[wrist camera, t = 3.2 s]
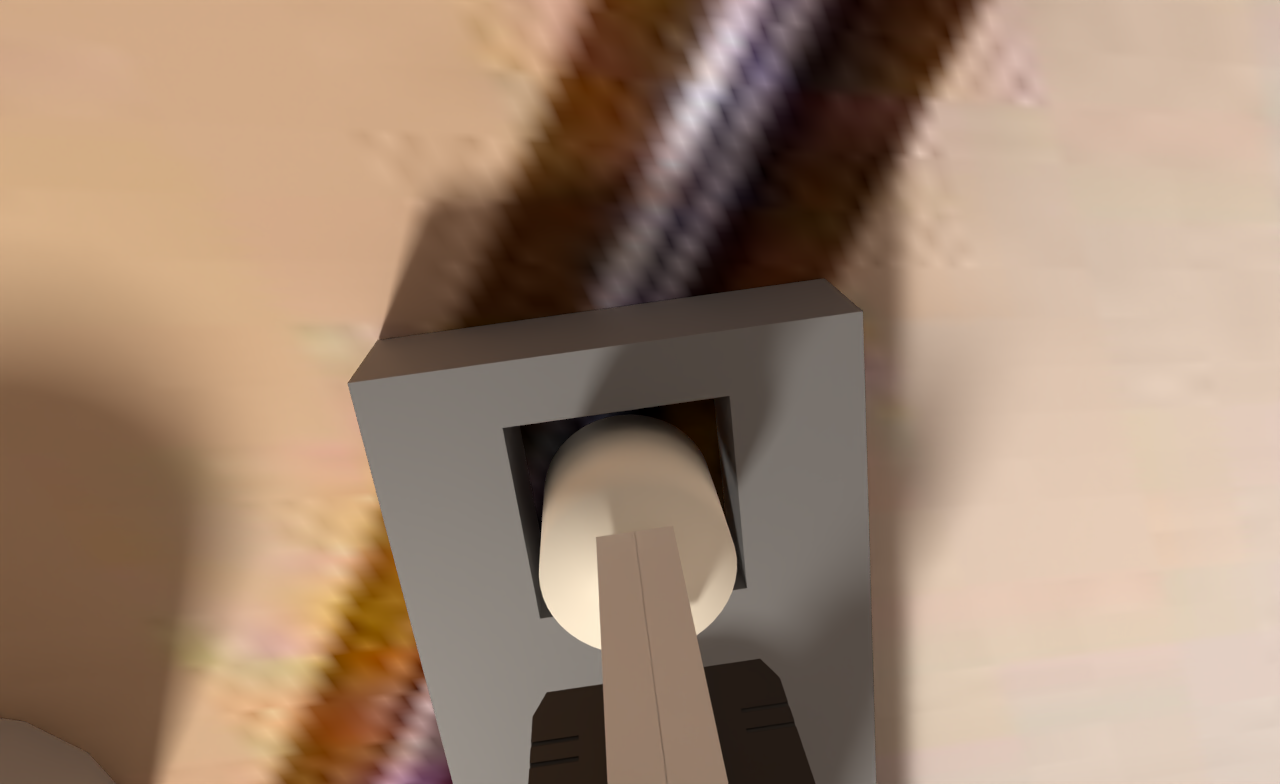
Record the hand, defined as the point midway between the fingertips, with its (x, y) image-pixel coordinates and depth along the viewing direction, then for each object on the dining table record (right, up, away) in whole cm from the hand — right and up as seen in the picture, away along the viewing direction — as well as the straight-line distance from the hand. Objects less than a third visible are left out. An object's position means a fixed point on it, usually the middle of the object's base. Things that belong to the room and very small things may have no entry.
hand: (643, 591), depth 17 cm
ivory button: (0, +2, +4) cm, 4 cm away
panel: (+1, -8, +10) cm, 12 cm away
